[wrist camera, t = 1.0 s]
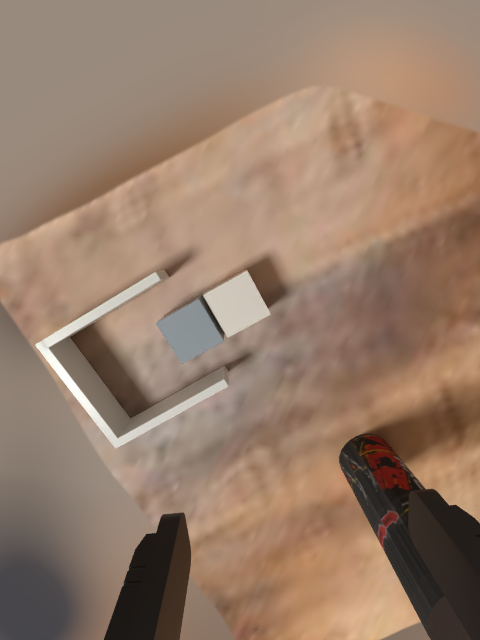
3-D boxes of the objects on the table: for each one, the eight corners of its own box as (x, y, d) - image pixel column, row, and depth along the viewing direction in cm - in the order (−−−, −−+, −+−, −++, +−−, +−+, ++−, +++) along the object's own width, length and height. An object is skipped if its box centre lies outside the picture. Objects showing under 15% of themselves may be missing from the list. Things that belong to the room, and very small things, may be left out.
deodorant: (331, 472, 33) (410, 642, 18) (352, 427, 32) (454, 572, 17) (377, 485, 34) (489, 661, 19) (399, 443, 33) (537, 594, 18)
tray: (164, 270, 28) (155, 271, 24) (228, 371, 30) (228, 386, 27) (58, 334, 29) (35, 344, 25) (128, 427, 31) (115, 448, 28)
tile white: (245, 269, 28) (247, 270, 25) (267, 308, 29) (270, 314, 26) (205, 291, 28) (202, 295, 26) (228, 329, 29) (227, 337, 26)
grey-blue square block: (201, 294, 29) (198, 298, 26) (224, 332, 29) (223, 341, 27) (163, 316, 29) (155, 323, 26) (186, 353, 30) (181, 364, 27)
